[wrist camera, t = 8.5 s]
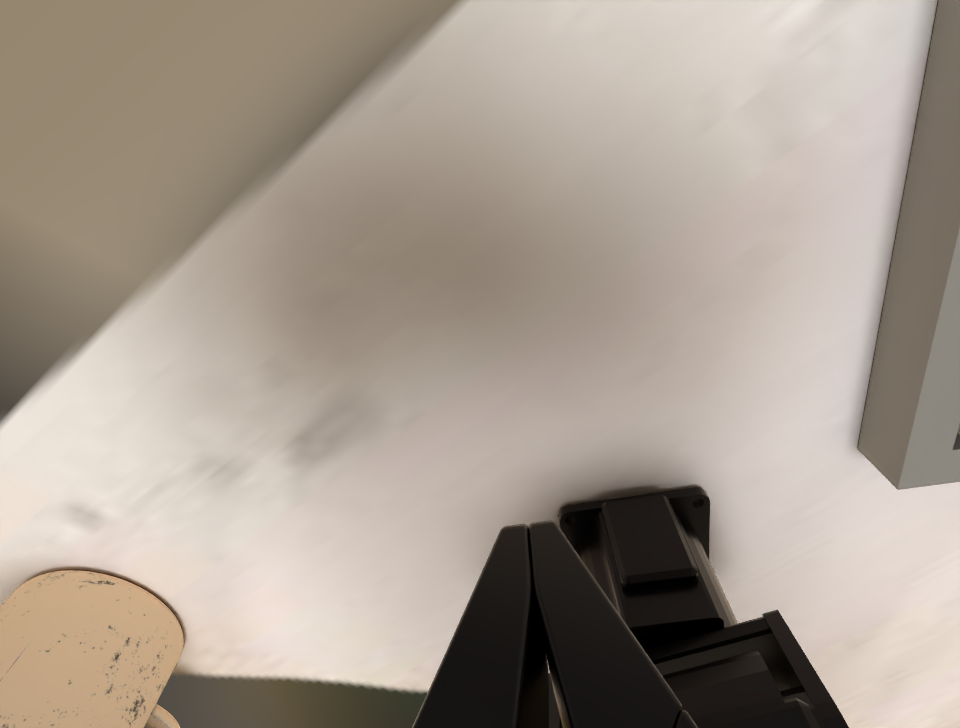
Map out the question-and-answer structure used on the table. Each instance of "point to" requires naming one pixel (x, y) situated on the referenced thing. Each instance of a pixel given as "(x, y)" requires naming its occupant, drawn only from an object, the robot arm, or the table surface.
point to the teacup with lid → (85, 653)
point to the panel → (923, 292)
